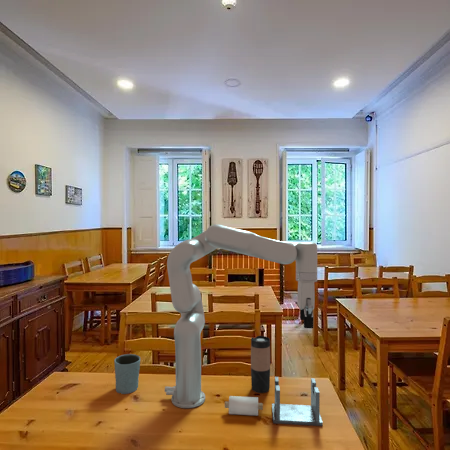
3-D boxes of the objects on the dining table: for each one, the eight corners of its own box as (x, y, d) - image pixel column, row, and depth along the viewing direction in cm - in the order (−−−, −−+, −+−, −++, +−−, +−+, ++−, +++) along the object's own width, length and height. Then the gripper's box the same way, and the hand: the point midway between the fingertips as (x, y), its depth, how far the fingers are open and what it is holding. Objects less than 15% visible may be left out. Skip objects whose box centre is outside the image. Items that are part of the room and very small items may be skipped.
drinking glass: (121, 381, 141) (121, 353, 141) (144, 383, 140) (144, 354, 140) (109, 394, 131) (109, 363, 131) (134, 396, 130) (134, 364, 130)
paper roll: (224, 417, 116) (224, 400, 116) (225, 408, 121) (225, 392, 121) (262, 419, 115) (262, 402, 115) (262, 410, 120) (262, 394, 120)
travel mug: (269, 394, 131) (269, 342, 131) (249, 392, 132) (249, 341, 132) (270, 385, 138) (270, 336, 138) (252, 383, 140) (252, 335, 140)
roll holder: (273, 423, 112) (273, 390, 112) (271, 406, 122) (271, 376, 122) (322, 426, 111) (322, 392, 110) (317, 409, 121) (317, 378, 120)
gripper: (293, 272, 131) (293, 316, 131) (298, 280, 114) (298, 331, 114) (313, 272, 130) (313, 317, 130) (321, 280, 113) (321, 331, 113)
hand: (306, 323), depth 122 cm, fingers open, 9 cm apart
